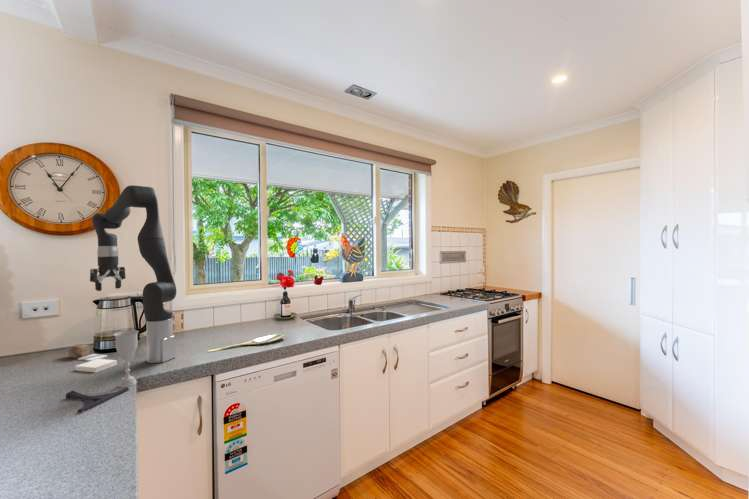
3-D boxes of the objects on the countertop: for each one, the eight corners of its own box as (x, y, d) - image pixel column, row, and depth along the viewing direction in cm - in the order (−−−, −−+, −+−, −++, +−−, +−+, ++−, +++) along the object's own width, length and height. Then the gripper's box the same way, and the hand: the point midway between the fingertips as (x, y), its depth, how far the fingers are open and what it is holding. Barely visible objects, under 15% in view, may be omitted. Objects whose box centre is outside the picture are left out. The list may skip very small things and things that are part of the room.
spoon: (207, 359, 137) (207, 354, 136) (206, 352, 146) (206, 348, 146) (286, 340, 155) (286, 336, 155) (281, 335, 164) (280, 331, 164)
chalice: (145, 381, 110) (143, 331, 110) (124, 389, 104) (123, 336, 103) (131, 378, 113) (129, 329, 112) (109, 386, 106) (108, 334, 106)
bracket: (91, 389, 106) (91, 381, 106) (129, 391, 104) (128, 383, 104) (40, 412, 92) (40, 402, 92) (82, 415, 89) (81, 406, 89)
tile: (97, 363, 129) (117, 365, 127) (75, 371, 121) (95, 373, 119) (97, 358, 129) (116, 360, 127) (75, 365, 121) (95, 367, 119)
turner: (107, 356, 137) (106, 345, 136) (91, 361, 131) (91, 349, 131) (80, 354, 140) (79, 343, 140) (64, 358, 134) (63, 347, 134)
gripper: (97, 256, 140) (98, 291, 140) (129, 255, 154) (129, 287, 154) (85, 256, 141) (85, 291, 141) (117, 255, 155) (117, 287, 155)
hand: (108, 289), depth 148 cm, fingers open, 8 cm apart
